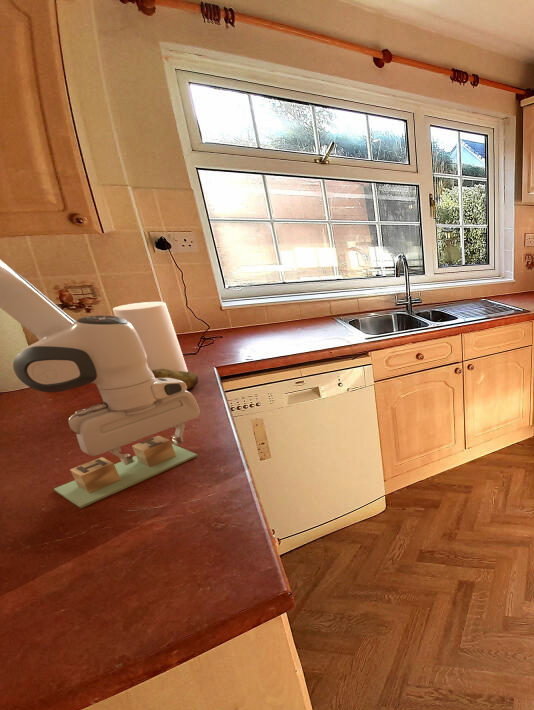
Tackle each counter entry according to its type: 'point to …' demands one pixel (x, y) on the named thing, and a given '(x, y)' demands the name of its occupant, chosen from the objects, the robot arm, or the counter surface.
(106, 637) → the counter surface
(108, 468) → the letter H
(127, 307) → the cylinder
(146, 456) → the tan boxy piece
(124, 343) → the robot arm
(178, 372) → the potato
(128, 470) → the mat
